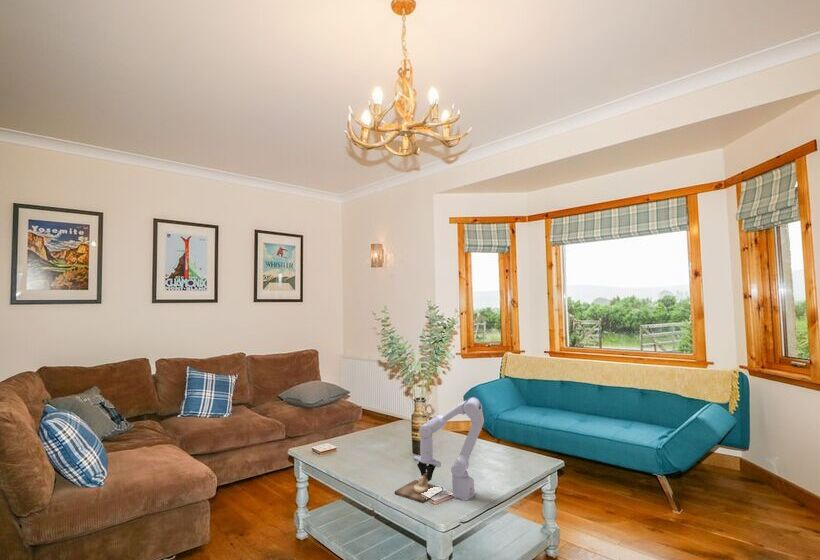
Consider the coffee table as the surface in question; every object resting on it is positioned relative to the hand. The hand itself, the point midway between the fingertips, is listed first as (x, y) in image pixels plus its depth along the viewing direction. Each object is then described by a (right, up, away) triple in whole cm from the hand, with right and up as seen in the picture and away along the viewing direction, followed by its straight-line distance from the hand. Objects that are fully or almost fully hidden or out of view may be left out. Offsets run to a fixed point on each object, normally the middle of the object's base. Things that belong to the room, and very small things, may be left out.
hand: (426, 479), depth 209 cm
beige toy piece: (-2, -4, -2) cm, 5 cm away
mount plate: (-4, -5, -2) cm, 7 cm away
